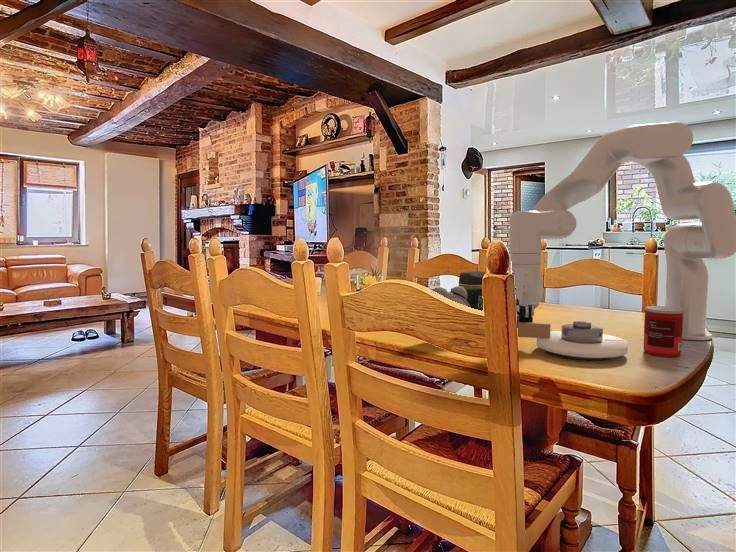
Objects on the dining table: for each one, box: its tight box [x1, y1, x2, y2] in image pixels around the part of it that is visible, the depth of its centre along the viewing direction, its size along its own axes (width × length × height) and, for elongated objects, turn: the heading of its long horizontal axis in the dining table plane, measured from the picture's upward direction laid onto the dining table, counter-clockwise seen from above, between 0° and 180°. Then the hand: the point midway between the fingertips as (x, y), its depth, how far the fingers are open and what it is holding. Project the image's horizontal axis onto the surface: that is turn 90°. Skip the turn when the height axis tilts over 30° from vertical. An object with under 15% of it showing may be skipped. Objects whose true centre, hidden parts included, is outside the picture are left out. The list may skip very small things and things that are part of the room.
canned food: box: [643, 305, 683, 358], centre depth 108 cm, size 8×8×11 cm
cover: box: [560, 320, 604, 344], centre depth 109 cm, size 9×9×4 cm
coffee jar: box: [458, 270, 486, 311], centre depth 131 cm, size 10×8×19 cm
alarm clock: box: [432, 285, 470, 307], centre depth 124 cm, size 12×7×15 cm, turn 110°
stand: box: [550, 352, 613, 361], centre depth 110 cm, size 14×14×1 cm
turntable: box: [516, 315, 629, 359], centre depth 110 cm, size 20×27×7 cm
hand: (525, 331), depth 115 cm, fingers closed
